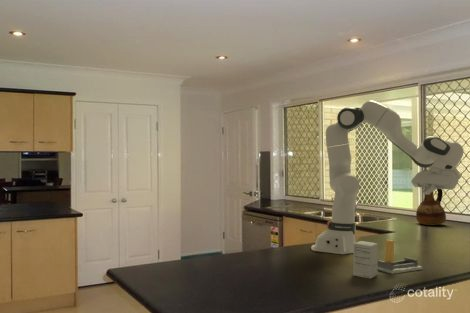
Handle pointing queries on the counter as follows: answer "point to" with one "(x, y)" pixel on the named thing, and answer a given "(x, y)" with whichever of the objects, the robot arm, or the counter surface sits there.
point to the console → (399, 266)
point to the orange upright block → (389, 252)
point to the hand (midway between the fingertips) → (425, 193)
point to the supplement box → (365, 259)
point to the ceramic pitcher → (431, 210)
